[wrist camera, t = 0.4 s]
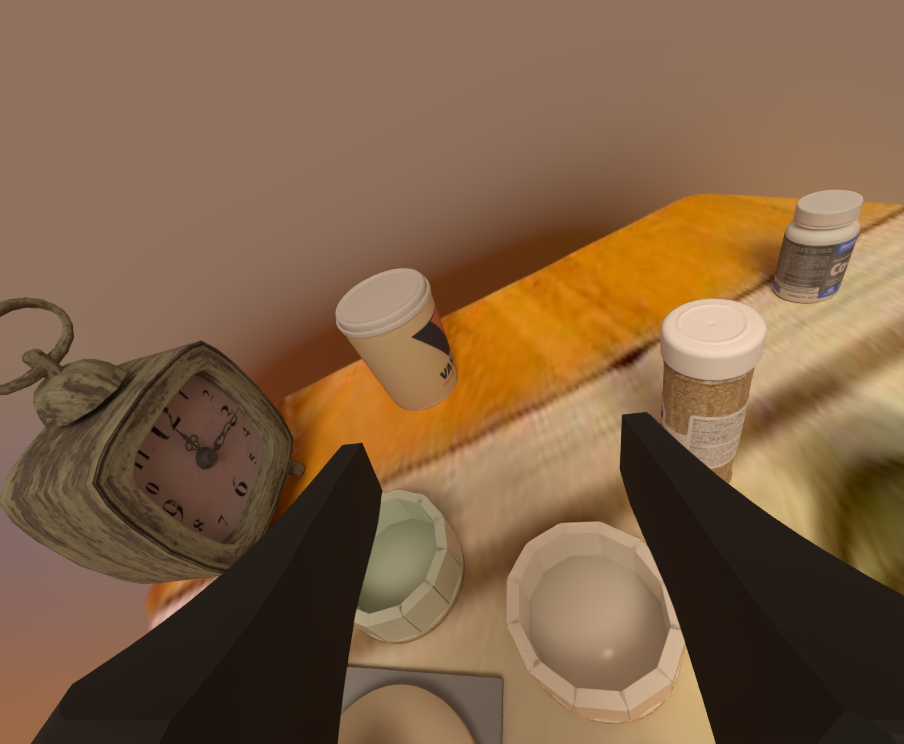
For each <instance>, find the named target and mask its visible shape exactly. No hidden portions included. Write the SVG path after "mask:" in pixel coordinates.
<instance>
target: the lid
mask: <svg viewBox="0 0 904 744" xmlns="http://www.w3.org/2000/svg"><path fill="white" fill-rule="evenodd" d="M338 744H476V741H475V740H474V738H473V736H472V734H471V732H470V730H469V728H468V727H467V725H466V724H465V722H464V721H463V720H462V718H461V717H460V716H459V714H458V713H457V712H456V711H455V710H454V709H453V708H452V707H451V706H450V705H449V704H447V703H446V702H445V701H444V700H443V699H441V698H439V697H438V696H436V695H434V694H432V693H431V692H429V691H427V690H425V689H422V688H419V687H417V686H411V685H390V686H385V687H382V688H379V689H376V690H374V691H372V692H370V693H368V694H366V695H364V696H363V697H361V698H360V699H359V700H357V701H356V702H354V703H353V704H352V705H351V706H350V707H349V708H348V709H347V710H345V711H344V712H343V714H342V715H341V719H340V728H339V737H338Z"/></svg>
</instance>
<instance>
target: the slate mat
mask: <svg viewBox="0 0 904 744" xmlns="http://www.w3.org/2000/svg"><path fill="white" fill-rule="evenodd" d="M390 685H411V686H417V687H419V688H422V689H425V690H427V691H429V692H431V693H432V694H434V695H436V696H438V697H439V698H441V699H443V700H444V701H445V702H446V703H447V704H449V705H450V706H451V707H452V708H453V709H454V710H455V711H456V712H457V713H458V714H459V716H460V717H461V718H462V720H463V721H464V722H465V724H466V725H467V727H468V728H469V730H470V732H471V734H472V736H473V738H474V740H475V741H476V744H502V728H503V679H502V678H488V677H475V676H462V675H449V674H436V673H422V672H409V671H396V670H383V669H370V668H357V667H347V672H346V679H345V686H344V694H343V701H342V710H341V715H342V714H343V712H344V711H345V710H347V709H348V708H349V707H350V706H351V705H352V704H353V703H354V702H356V701H357V700H359V699H360V698H361V697H363V696H364V695H366V694H368V693H370V692H372V691H374V690H376V689H379V688H382V687H385V686H390Z"/></svg>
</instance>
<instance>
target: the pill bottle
mask: <svg viewBox="0 0 904 744" xmlns="http://www.w3.org/2000/svg"><path fill="white" fill-rule="evenodd" d="M862 204H863V197H862V196H861V195H860V194H858V193H855V192H852V191H846V190H827V191H820V192H815V193H812V194H809V195H806V196H804V197H803V198H801V199H800V200H799V201H798V203H797V205H796V210H795V213H794V220H793V221H792V222H790V223H789V225H788V226H787V228H786V230H785V234H784V239H783V243H782V247H781V251H780V256H779V260H778V264H777V269H776V274H775V279H774V283H773V290H774V292H775V293H776V294H777V295H778V296H779V297H781V298H783V299H785V300H788V301H792V302H799V303H815V302H821V301H824V300H827V299H829V298H831V297H833V296H834V295H835V294H836V293H837V292H838V290H839V288H840V285H841V282H842V279H843V277H844V274H845V271H846V269H847V266H848V263H849V260H850V257H851V254H852V251H853V249H854V246H855V243H856V240H857V237H858V234H859V231H860V223H859V221H858V220H857V218H858V216H859V215H860V212H861V208H862Z"/></svg>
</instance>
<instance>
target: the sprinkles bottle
mask: <svg viewBox="0 0 904 744" xmlns="http://www.w3.org/2000/svg"><path fill="white" fill-rule="evenodd" d="M766 333H767V327H766V323H765V321H764V319H763V317H762V316H761V315H760V314H759V313H758V312H757V311H756V310H754V309H752V308H751V307H749V306H747V305H745V304H742V303H739V302H736V301H732V300H726V299H703V300H697V301H692V302H689V303H686V304H683V305H681V306H679V307H677V308H675V309H674V310H673V311H671V312H670V313H669V314H668V315H667V316H666V318H665V319H664V321H663V323H662V327H661V345H660V348H661V355H662V357H663V361H664V377H663V391H662V408H661V425H662V426H663V427H664V428H665V429H666V430H667V431H668V432H669V433H670V434H671V435H672V436H673V437H674V438H676V439H677V440H678V441H679V442H680V443H681V444H682V445H683V446H684V447H685V448H687V449H688V450H689V451H690V452H691V453H692V454H693V455H695V456H696V457H697V458H698V459H699V460H700V461H702V462H703V463H704V464H705V465H706V466H707V467H709V468H710V469H711V470H712V471H713V472H715V473H716V474H717V475H718V476H719V477H721V478H722V479H723V480H724V481H726V482H727V483H729V482H730V479H731V477H732V467H731V466H732V461H733V457H734V456H735V454H736V451H737V447H738V443H739V439H740V435H741V431H742V426H743V422H744V418H745V414H746V409H747V405H748V401H749V390H750V386H751V380H752V376H753V372H754V368H755V366H756V365H757V364H758V362H759V361H760V359H761V356H762V353H763V349H764V344H765V339H766Z"/></svg>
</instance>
